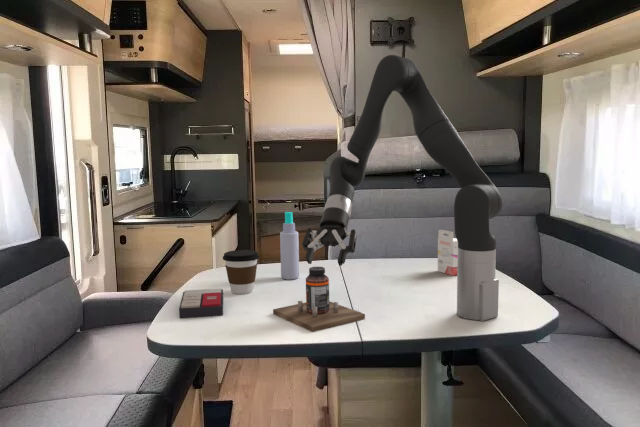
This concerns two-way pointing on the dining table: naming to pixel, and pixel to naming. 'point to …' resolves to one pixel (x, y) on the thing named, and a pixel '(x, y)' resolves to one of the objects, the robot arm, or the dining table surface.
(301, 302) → the pin tray
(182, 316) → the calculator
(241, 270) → the coffee cup
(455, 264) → the ink cartridge box
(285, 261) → the spray bottle
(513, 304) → the dining table surface
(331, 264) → the dining table surface
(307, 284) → the supplement bottle
